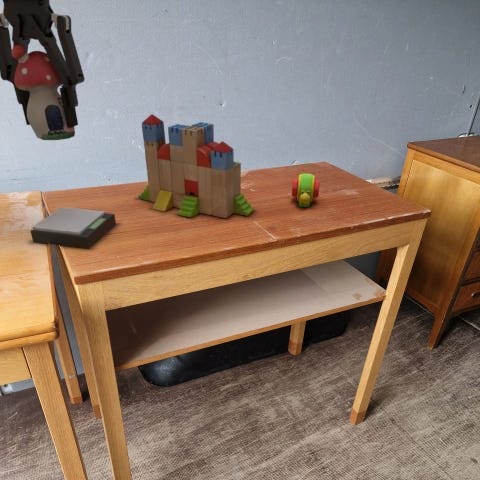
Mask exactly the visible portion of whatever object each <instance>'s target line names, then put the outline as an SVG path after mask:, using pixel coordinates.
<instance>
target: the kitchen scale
mask: <svg viewBox="0 0 480 480" xmlns="http://www.w3.org/2000/svg"><path fill="white" fill-rule="evenodd" d="M116 225H117V222H116V216H115V213H110V212H109V213H108V212H106V211H105V210H97V209H96V210H95V209H87V208H78V207H76V208H75V207H69V206H68V207H66V206H61V207H59V208H58V209H56V210H55V211H54V212H52V213H50V214H49V215H48V216H46V217H45V218H43V219H42V220H41V221H38V223H36V224H34V225H33V226H31V228H32V229H31V230H30V235H31V238H32V241H33V243H38V244H46V245H55V246H62V247H63V246H64V247H70V248H71V247H73V248H81V249H91V248H92V247H93V246H94V245H95V244H96V243H97V242H98V241H99V240H101V239H102V238H103V237H104V236H105V235H106V234H107V233H108V232H109V231H111V230H112V229H113V228H114V227H116Z"/></svg>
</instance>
